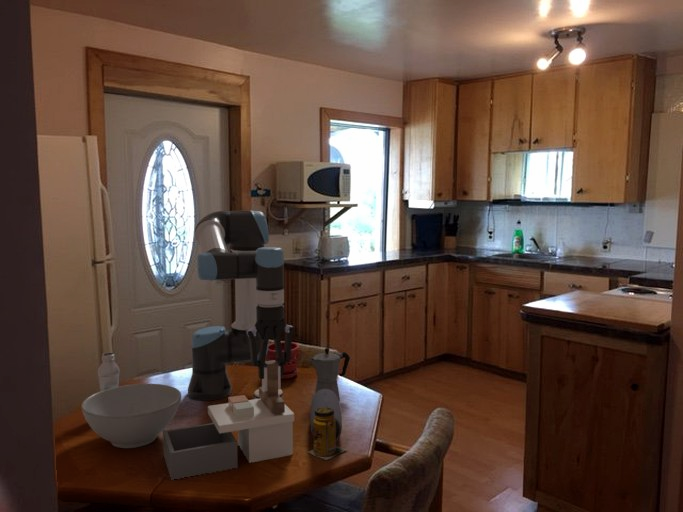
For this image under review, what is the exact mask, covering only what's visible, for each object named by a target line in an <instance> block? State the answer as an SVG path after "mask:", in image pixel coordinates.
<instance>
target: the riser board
mask: <svg viewBox="0 0 683 512" xmlns="http://www.w3.org/2000/svg"><path fill="white" fill-rule="evenodd" d="M249 401H250V403H251V404H252V405H253V407H254V416H252V417H245V418H239V419H237V418H236V416H235V415H234V413H233V412H232V411H231V409H230V408H229V406H228V402H227V403H226V402H225V403H219V404H213V405H207V414H208V416H209V418H210V420H211V421H212V423H214V425H215V427H216V428H217V430H218V432H219V433H225V432H231V433H232V432H237V433H238V434H237V439H238V440H237V446H240V447H239V448H240V450H241V452H242V451H243V452H242V454H243V455H244V456H246V457H245V458H246V460H247V461H248V463H250V464H251V462H252V463H257V462H262V461H266V460H272V459H278V458H283V457H287V456H292V455H293V454H294V445H293V444H294V438H293V434H294V433H293V429H294V427H293V426H294V425H293V422H295V413H294V411H292V409H291V408H289V407H288V406H287V405H286V404H285V413H280V414H273V413H272V412H271V411H270V409H269V408H268V407H267V406H266V405H265V404H264V402H263V401H262V400H261V399H255V398H253V399H248V402H249Z"/></svg>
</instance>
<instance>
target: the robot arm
mask: <svg viewBox="0 0 683 512" xmlns="http://www.w3.org/2000/svg"><path fill="white" fill-rule="evenodd" d="M269 233H270V232H269V227H268V223H267V219H266V216H265V214H264V212H262V211H259V210H219V211H214V212H211V213H208V214H207V215H205V216H204V217H202V218H201V219H200V220H199V221H198V223H197V224H196V226H195V228H194V237H195V240H196V242H197V244H198V245H199V247H200V251H201V253H198V255H197V259H196V260H197V262H196V263H197V265H196V267H197V268H196V269H197V276H198V279H199V280H202V281H210V282H211V281H222V280H235V284H234V286H235V287H234V288H235V291H234V292H235V321H234V322H233V323H231V325H230V326H231V328H230V329H228V330H227V329H226V327H225V326H223V325H219V326H218V325H214V326H207V327H204V328H200V329H197V330H196V331H195V332H193V334H192V335H191V345H190V348H191V358H192V359H191V365H192V366H191V367H192V369H191V370H192V373H191V376H190V380H189V384H188V387H187V396H188V397H189V398H190V399H192V400H196V401H197V400H198V401H214V400H215V401H216V400H219V399H223V398H225V397H228V396H229V395H231V394H232V384H231V381H230V379H229V376H228V372H227V364H236V363H238V364H239V363H250V362H251V364H252V365H253V366H254V367H257V370H258V371H257V372H258V373H257V375H258V378H259V379H260V380H261V387H262V389H263V390H264V391H267V367H266V366H265V361H266V355H267V352H268V346H269V344H270V340H271V339H272V340H273V342H274V344H275V350H276V356H277V362H278V390H279V389H281V387H282V385H281V381H282V379H280V376H283V375H284V365H285V363H287V362H290V359H291V346H292V343H293V342H292V341H293V335H294V333H295V330H296V329H295V327H294V326H293V325H291V324H290V325H289V324H287V323H286V321H285V305H284V303H285V258H284V257H285V256H284V255H285V254H284V249H283V248H282V247H277V246H265V245H267V244H269V243H270V242H269V241H270V239H269V238H270V234H269ZM227 245H228V246H230V251H231V252H229V250H228V247H227ZM283 331H284V332H285V335H284V342H285V345H284V358H283V353H282V351H283V350H282V346H281V342H282V339H281V338H282V337H281V335H282V333H283ZM275 350H274V351H275ZM281 390H282V389H281Z"/></svg>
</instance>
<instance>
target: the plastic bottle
mask: <svg viewBox="0 0 683 512" xmlns="http://www.w3.org/2000/svg"><path fill="white" fill-rule="evenodd" d="M115 358H116V356H115V353H114V352H106V353H102V354H101V362H102V363H101V364H100V365H99V367H98V369H97V376H98V383H99V388H100V389H99V390H100V391H103V390H107V389H110V388H114V387H119V386H120V385H119V384H120V383H119V381H120V380H119V379H120V367H119V366H118V364H117V363H116V362H115V360H116V359H115Z"/></svg>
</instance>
